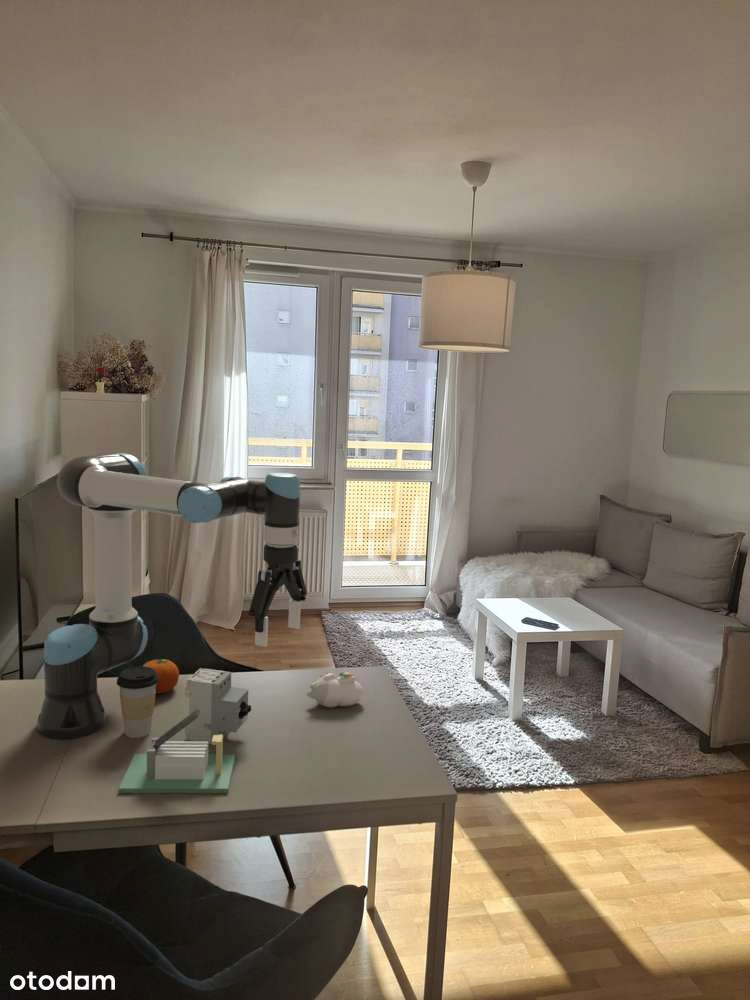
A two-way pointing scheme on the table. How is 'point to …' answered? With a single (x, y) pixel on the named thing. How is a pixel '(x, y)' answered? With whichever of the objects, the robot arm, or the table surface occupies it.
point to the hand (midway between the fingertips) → (278, 636)
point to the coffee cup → (137, 699)
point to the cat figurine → (336, 690)
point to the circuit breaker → (215, 705)
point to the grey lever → (175, 730)
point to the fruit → (164, 674)
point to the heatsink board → (177, 785)
